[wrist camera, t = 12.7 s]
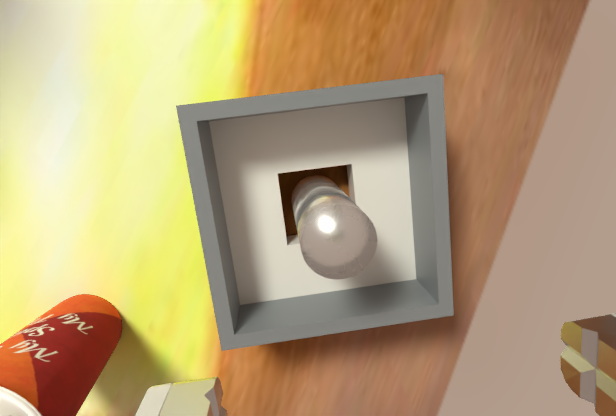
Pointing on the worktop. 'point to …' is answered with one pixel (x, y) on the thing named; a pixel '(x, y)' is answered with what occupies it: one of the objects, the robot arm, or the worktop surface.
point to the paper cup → (58, 358)
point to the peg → (332, 229)
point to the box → (362, 191)
